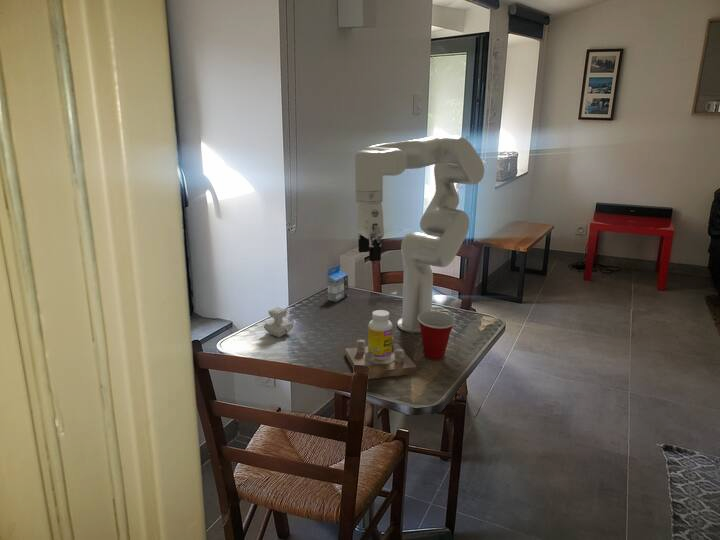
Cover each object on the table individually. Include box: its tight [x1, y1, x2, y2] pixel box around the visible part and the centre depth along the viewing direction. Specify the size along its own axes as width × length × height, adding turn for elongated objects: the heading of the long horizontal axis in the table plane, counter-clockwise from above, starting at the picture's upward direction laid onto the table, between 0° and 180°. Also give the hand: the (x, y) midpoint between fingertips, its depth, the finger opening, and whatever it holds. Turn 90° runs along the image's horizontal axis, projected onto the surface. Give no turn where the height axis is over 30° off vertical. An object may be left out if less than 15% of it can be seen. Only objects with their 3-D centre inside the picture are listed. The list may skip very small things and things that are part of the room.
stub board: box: [344, 336, 418, 380], centre depth 150 cm, size 16×16×6 cm
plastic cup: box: [417, 310, 456, 361], centre depth 155 cm, size 11×11×12 cm
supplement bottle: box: [367, 309, 393, 360], centre depth 149 cm, size 7×7×13 cm
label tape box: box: [326, 263, 349, 303], centre depth 204 cm, size 9×4×12 cm, turn 149°
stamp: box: [263, 306, 294, 338], centre depth 170 cm, size 9×7×8 cm
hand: (369, 256), depth 153 cm, fingers open, 9 cm apart
